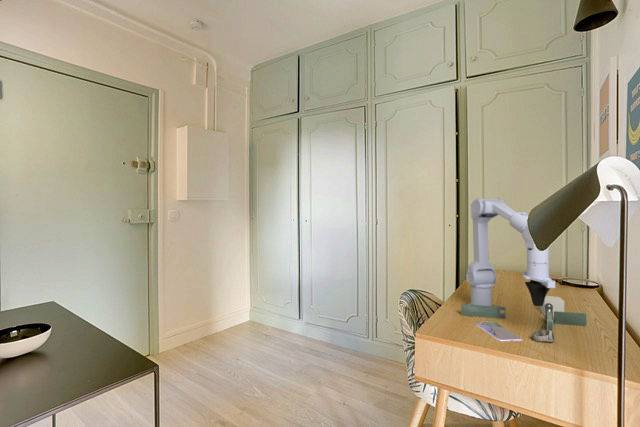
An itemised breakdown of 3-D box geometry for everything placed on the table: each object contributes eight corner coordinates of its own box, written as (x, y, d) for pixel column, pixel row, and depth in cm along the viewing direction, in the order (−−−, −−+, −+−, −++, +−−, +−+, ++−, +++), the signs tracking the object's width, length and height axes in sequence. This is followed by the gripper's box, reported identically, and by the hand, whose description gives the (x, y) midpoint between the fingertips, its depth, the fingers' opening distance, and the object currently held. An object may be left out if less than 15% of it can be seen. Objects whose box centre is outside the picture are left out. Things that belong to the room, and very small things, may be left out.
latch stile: (461, 314, 121) (461, 303, 121) (504, 317, 117) (504, 306, 117) (461, 315, 120) (461, 305, 120) (505, 318, 116) (505, 307, 116)
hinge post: (543, 321, 113) (543, 302, 113) (583, 324, 110) (583, 304, 110) (546, 323, 111) (546, 304, 111) (587, 326, 107) (587, 306, 107)
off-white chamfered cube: (564, 317, 117) (564, 301, 117) (544, 315, 119) (544, 299, 119) (559, 312, 122) (559, 296, 122) (540, 310, 125) (540, 295, 125)
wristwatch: (544, 336, 100) (560, 341, 95) (529, 341, 98) (545, 346, 94) (542, 325, 100) (558, 329, 96) (527, 330, 99) (542, 334, 94)
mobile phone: (499, 339, 97) (474, 321, 112) (499, 342, 97) (474, 324, 112) (524, 338, 97) (495, 321, 112) (524, 341, 97) (495, 324, 112)
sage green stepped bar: (546, 322, 111) (546, 309, 111) (551, 323, 110) (551, 310, 110) (547, 334, 100) (546, 320, 100) (553, 335, 99) (553, 321, 99)
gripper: (513, 258, 108) (513, 298, 108) (536, 266, 94) (537, 312, 94) (535, 258, 107) (535, 299, 108) (563, 266, 93) (563, 313, 93)
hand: (537, 305), depth 101 cm, fingers closed
